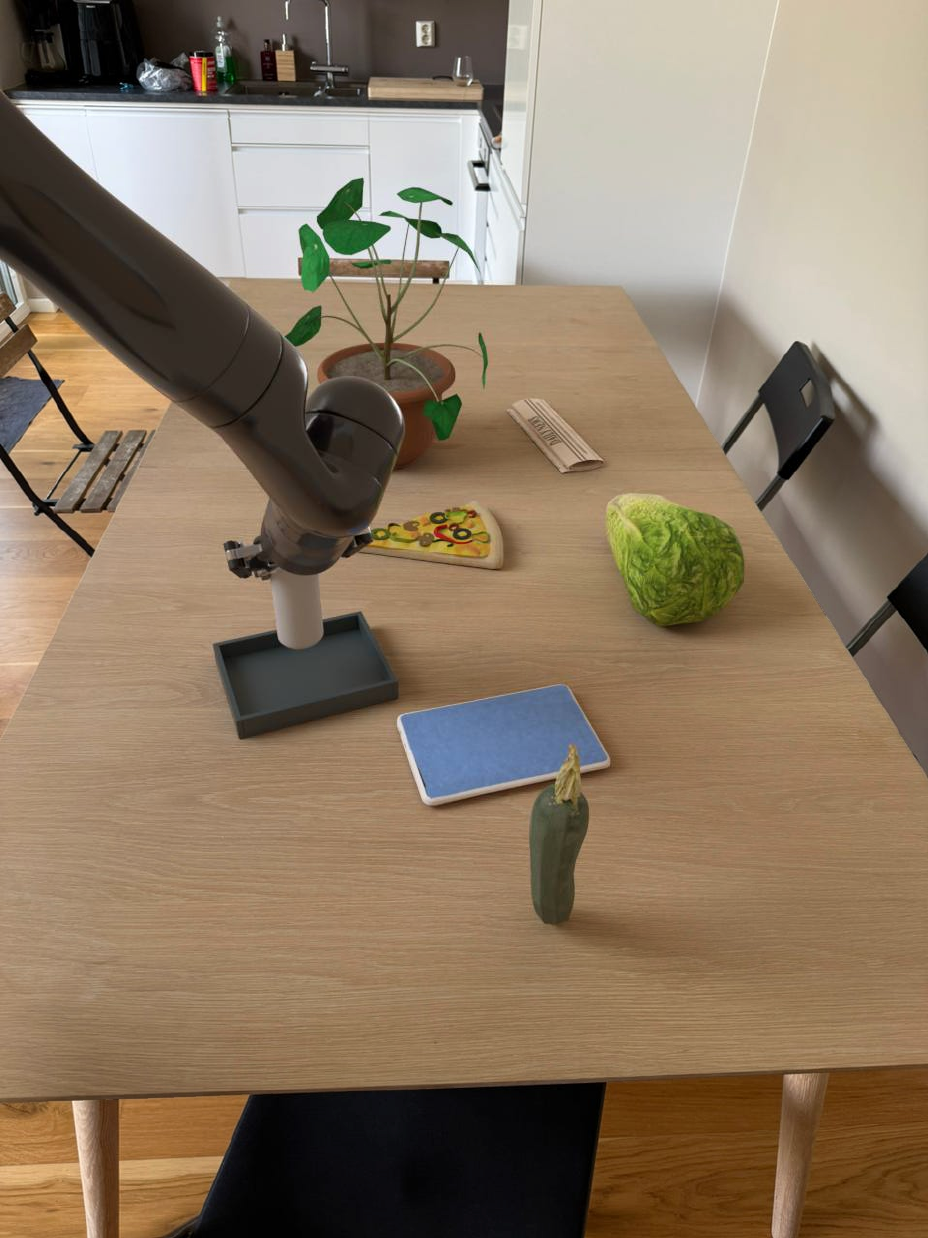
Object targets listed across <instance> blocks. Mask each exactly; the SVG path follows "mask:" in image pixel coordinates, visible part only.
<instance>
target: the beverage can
mask: <svg viewBox="0 0 928 1238" xmlns="http://www.w3.org/2000/svg"><path fill="white" fill-rule="evenodd" d="M269 581H270V587H271V588H270V590H271V594H272V601H273V602H272V603H273V611H274V618H275V625H276V630H277V634H278V639H279V641H280V642H281V643H282V644H283V645H285V646H286V647H288V648H291V649H296V650H300V649H306V648H309V647H312V646H314V645H316V644H317V643H318V642H319V641H320V640H321V638H322V636H323V612H322V611H323V609H322V600H321V588H320V577H319V574H315V575H308V576H303V575H296V574H292V573H289V572H287V571H285V570H283V571H282V572H279V573H272V574H271V576H270V579H269Z"/></svg>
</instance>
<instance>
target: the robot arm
mask: <svg viewBox="0 0 928 1238" xmlns="http://www.w3.org/2000/svg"><path fill="white" fill-rule="evenodd" d="M0 262H2V263H3V264H5V265H6V266H8V268H10V269H12V271H14V272H15V273H17V274H18V275H19V276H20V277H21V278H22V279H24V280H25V281H26V282H27V283H29V285H32V286H33V288H35V289H36V290H37V291H39V292H40V293H41V294H43V296H45V297H46V298H47V299H48V300H49V301H50V302H51V303H52V304H54V306H56V307H57V308H58V309H59V310H61V312H63V313H64V314H65V315H66V316H67V317H69V318H70V319H71V320H72V321H73V322H74V323H75V324H76V325H78V327H80V328H81V329H82V330H83V331H84V332H85V333H87V334H88V335H89V336H90V337H91V338H92V339H93V340H95V341H96V342H97V343H98V344H99V345H100V346H102V347H103V349H105V350H106V351H107V352H109V354H111V355H112V356H113V357H114V358H115V359H117V360H118V361H119V362H120V363H122V364H123V365H124V366H125V367H127V368H128V369H129V370H130V371H131V372H133V373H134V374H135V375H137V376H138V377H139V378H140V379H141V380H143V381H144V382H146V384H148V385H149V386H151V387H152V388H153V389H154V390H156V391H157V392H159V393H160V394H161V395H163V396H164V397H165V398H167V399H168V400H170V401H171V402H172V403H173V404H175V405H176V406H178V408H181V409H182V410H183V411H185V412H186V413H188V415H191V417H193V418H194V419H196V420H197V421H198V422H200V423H201V424H203V425H205V426H206V427H207V428H208V429H210V430H211V431H213V432H214V433H215V434H217V436H219V437H220V438H221V439H222V440H223V441H224V442H225V443H226V445H227V446H228V447H229V448H230V450H231V451H232V453H234V455H235V456H236V457H237V458H238V459H239V460H240V462H241V463H242V464H243V465H244V467H245V468H246V469H247V471H249V473H250V474H251V475H252V477H253V478H254V479H255V481H256V482H257V484H258V485H259V486H260V487H261V489H262V490H263V492H265V495H267V496H268V501H267V504H266V508H265V511H264V514H263V519H262V521H261V525H260V534H259V535H257V536H255V538H254V539H253V541H252V544H249V545H245V543H244V541H239V542H238V541H237V540H228V541H226V542H223V544H222V546H223V550H224V554H225V558H226V562H227V566H228V570H229V572H231V573H233V574H234V576H236V577H238V578H239V579H243V580H244V579H249V578H250V577H252V576H253V575H254V578H257V579H258V578H260V579H261V581H262V582H263V581H270V576H271V574H272V573H279V572H282V571H283V570H285V571H287V572H289V573H292V574H296V575H303V576H308V575H315V574H318V575H319V574H321V573H324V572H326V571H328V570H329V569H331V568H332V567H333V566H334V565H335V564H337V562H338V561H339V560H340V559H349V558H351V557H352V556H354V555H355V554H357V553H359V552H358V551H360V550H361V549H363V548H364V547H366V546H367V545H369V544H370V543H372V542H373V537H372V534H371V530H372V529H371V524H372V522H373V521H374V519H375V518H376V516H377V513H378V511H379V509H380V506H381V503H382V501H383V498H384V495H385V492H386V491H387V490H386V489H387V487H388V484H389V481H390V479H391V477H392V473H393V471H394V470H395V469H394V466H395V463H396V460H397V458H398V455H399V453H400V450H401V447H402V444H403V440H404V436H405V422H404V418H403V414H402V412H401V409H400V407H399V405H398V404H397V402H396V401H395V399H394V398H393V397H392V396H391V395H390V394H389V393H388V392H387V391H386V390H385V389H384V388H383V387H381V386H380V385H378V384H376V383H374V382H372V381H370V380H368V379H365V378H361V377H355V376H342V377H336V378H332V379H330V380H327V381H325V382H323V383H322V384H319V385H317V386H316V387H315V388H313V390H311V392H310V393H309V395H308V391H309V368H308V365H307V362H306V360H305V358H304V356H303V354H302V353H301V352H300V351H299V349H298V348H297V347H295V346H294V345H293V344H292V343H291V342H289V341H288V340H287V339H286V338H285V337H284V336H285V335H283V334H282V333H281V331H279V330H278V329H277V328H275V327H274V326H273V325H272V324H271V323H270V322H269V321H267V320H266V319H265V318H264V316H262V315H261V314H260V313H259V312H258V311H256V310H255V308H253V307H252V306H251V305H250V304H248V303H247V302H246V301H245V300H244V299H243V298H242V297H240V296H239V295H238V294H237V293H236V292H235V291H234V290H233V289H231V288H230V287H229V286H228V285H226V284H225V283H224V282H223V281H222V280H221V279H220V278H218V277H217V276H216V275H215V274H213V273H212V272H211V271H210V270H208V268H206V267H205V266H204V265H203V264H202V263H200V262H199V261H198V260H196V259H195V258H194V257H192V255H190V254H189V253H187V252H186V251H185V250H184V249H183V248H181V247H180V246H178V244H176V243H175V242H173V241H172V240H171V239H170V238H169V237H167V236H166V235H164V234H163V233H162V232H160V231H159V230H158V229H157V228H155V227H154V226H153V225H151V223H149V222H148V221H146V220H145V219H144V218H142V217H141V216H140V215H139V214H137V213H136V212H134V210H132V209H131V208H130V207H128V206H127V205H126V204H125V203H123V202H122V201H121V200H119V198H118V197H116V196H115V195H113V194H112V193H111V192H110V191H109V190H107V189H106V188H105V187H104V186H103V185H101V183H100V182H98V181H97V180H96V179H94V178H93V177H92V176H91V175H90V174H88V173H87V172H86V171H85V170H84V169H83V168H82V167H80V165H78V163H76V162H75V161H74V160H73V159H71V158H70V156H68V155H67V154H66V153H65V152H64V151H63V150H61V148H59V147H58V146H57V144H55V143H54V142H53V141H52V140H51V139H50V138H49V137H48V136H47V135H46V134H45V133H44V132H43V131H41V130H40V128H39V127H38V126H36V124H34V123H33V122H32V120H30V118H28V116H27V115H26V114H25V113H24V112H23V111H22V110H21V109H20V108H19V107H18V106H17V105H16V104H15V103H14V102H13V101H12V100H11V99H10V97H8V96H7V95H6V93H5V92H4V91H3V90H2V88H0Z"/></svg>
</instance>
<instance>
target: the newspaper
mask: <svg viewBox="0 0 928 1238" xmlns="http://www.w3.org/2000/svg"><path fill="white" fill-rule="evenodd" d="M506 412H507V413H508V414H509V415H510V416H511V418H513V420H514V421H515V422H516V424H517V425H519V427H520V428H521V429H522V430H523V431H524V432H525V433H526V434H527V436H529V438H530V439H531V440H532V441H533V442H534V443H535V445H536V446H537V447H538V448H539V449H540V450H541V451H542V452H543V454H544V455H545V456H546V457H547V458H548V459H549V461H550V462H551V463H552V464H553V465H554V467H556V469H557V470H559V472H560V473H561V474H563V473H567V472H581V471H583V472H584V471H589V470H595V469H598V468H601V467H602V466H604V465H605V461H604V460H603V459H602V458H601V456H599V455H598V453H597V452H596V451H595V450H594V449H592V447H591V446H590V445H589V444H588V443H587V442H586V441H585V440H584V439H583V438H582V437H581V436H580V435H579V434H578V433H577V432H576V431H575V430H574V429H573V428H572V427H571V426H570V425H569V424H568V423H567V421H565V420H564V419H563V418H562V417H561V415H559V413H558V412H556V411H555V409H553V408H552V407H551V406H550V405H549V404H548V403H547V401H545V399H542V398H525V399H521V400H518V401H516V402H514V403H512V408H507V409H506Z"/></svg>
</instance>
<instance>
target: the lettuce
mask: <svg viewBox="0 0 928 1238" xmlns="http://www.w3.org/2000/svg"><path fill="white" fill-rule="evenodd" d="M604 530H605V531H604V532H605V535H606V539H607V542H608V545H609V548H610V551H611V555H612V557H613V559H614V562H615V564H616V567H617V569H618V571H619V573H620V576H621V578H622V580H623V582H624V586H625V589H626V591H627V595H628V598H629V600H630V605H631V608H632V610H634V611H635V612H637V613H638V614H640V615H641V616H642V617H644V618H645V619H647V620H648V621H649V622H652V623H653V624H654V625H656V626H657V627H659V628H662V627H667V626H673V625H679V624H693V623H695V624H696V623H700V622H702V621H705V620H707V619H709V618H712V617H714V616H717V615H718V614H720V613H721V611H722V610H723V609H724V608H726V607H727V605H728V604H729V603H731V601H732V600H733V599H734V597H735V596H736V595H737V593H738V592H739V591H740V589H741V588H742V586H743V585H744V583H745V556H744V550H743V546H742V544H741V542H740V539H739V538H738V535H737V533H736V531H735V528H733V527H732V526H731V525H729V524H727V523H726V522H724V520H721V519H720V518H718V517H716V516H715V515H712V514H709V513H707V512H704V511H699V510H696V509H693V508H691V507H689V506H686V505H683V504H680V503H676V502H673V501H672V500H670V499H669V498H667V497H665V496H663V494H662V495H661V494H653V493H633V492H632V493H631V492H628V493H625V494H621V493H619V494H617V495H616V496H615V497H614V498H613V499H611V500H610V501H608V502H607V507H606V510H605V514H604Z"/></svg>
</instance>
